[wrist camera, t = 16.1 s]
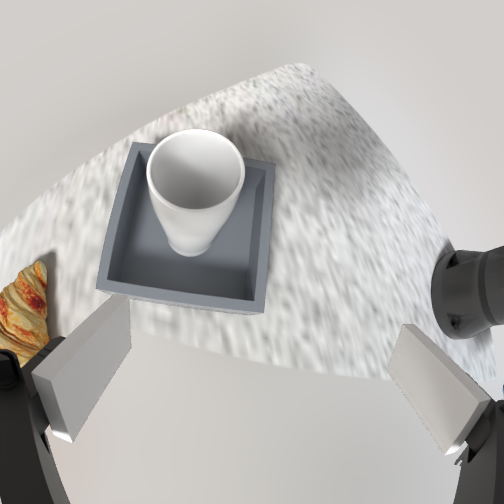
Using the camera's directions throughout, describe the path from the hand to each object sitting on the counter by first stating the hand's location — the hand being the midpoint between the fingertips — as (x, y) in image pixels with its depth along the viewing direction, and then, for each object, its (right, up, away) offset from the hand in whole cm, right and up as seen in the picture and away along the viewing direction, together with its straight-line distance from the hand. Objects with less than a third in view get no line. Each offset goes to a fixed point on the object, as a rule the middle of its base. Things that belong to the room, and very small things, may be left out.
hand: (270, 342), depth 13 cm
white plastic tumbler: (-8, +6, +20) cm, 22 cm away
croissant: (-28, -7, +13) cm, 32 cm away
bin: (-8, +6, +21) cm, 23 cm away
